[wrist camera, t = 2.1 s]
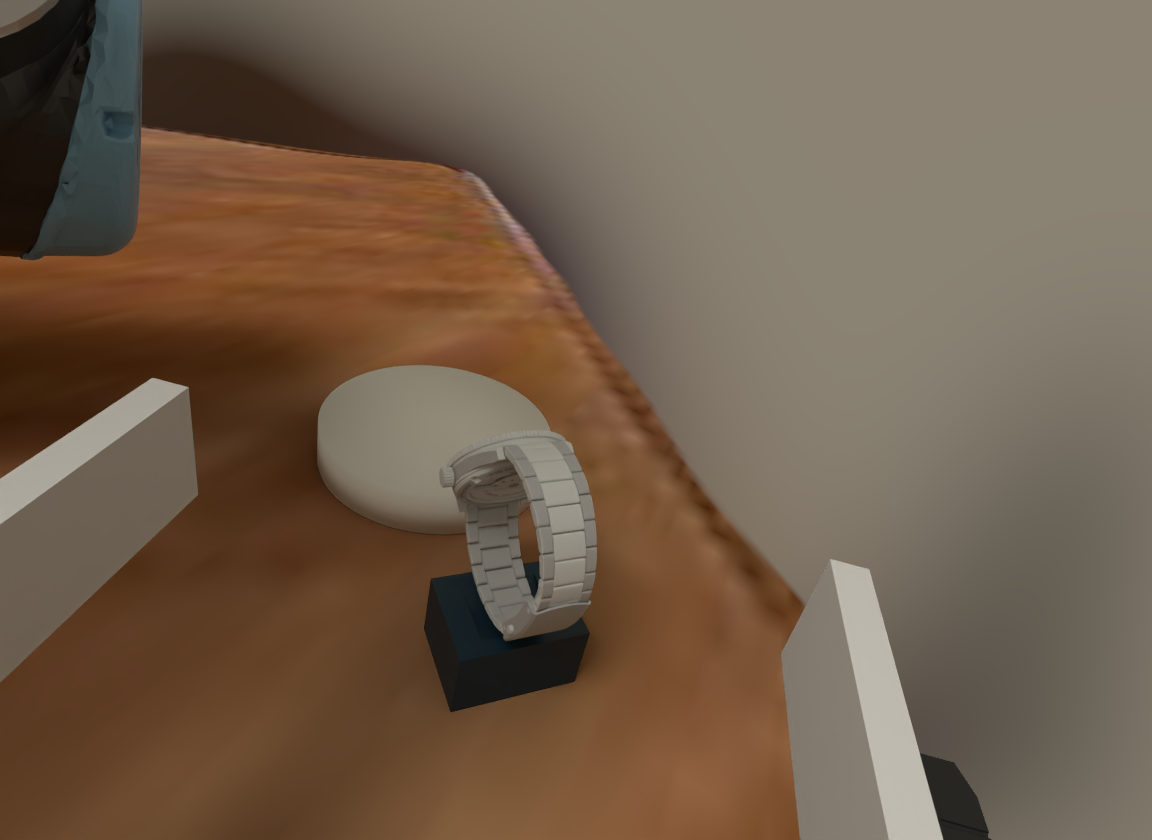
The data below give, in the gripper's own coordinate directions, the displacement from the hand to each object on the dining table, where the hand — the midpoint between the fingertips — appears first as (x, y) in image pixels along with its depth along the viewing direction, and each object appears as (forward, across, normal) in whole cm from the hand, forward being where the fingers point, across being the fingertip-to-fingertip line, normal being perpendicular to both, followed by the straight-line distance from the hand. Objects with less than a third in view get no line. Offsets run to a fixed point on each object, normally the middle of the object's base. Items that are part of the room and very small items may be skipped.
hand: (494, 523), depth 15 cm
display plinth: (+23, -7, -16) cm, 28 cm away
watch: (+10, 0, -16) cm, 19 cm away
